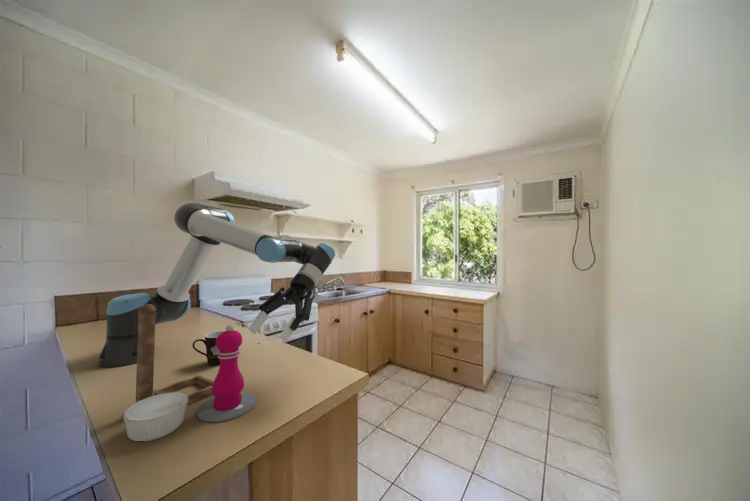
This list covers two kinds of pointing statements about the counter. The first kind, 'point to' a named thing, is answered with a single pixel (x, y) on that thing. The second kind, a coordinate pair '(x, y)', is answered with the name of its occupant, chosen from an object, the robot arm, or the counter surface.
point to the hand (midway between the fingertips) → (266, 335)
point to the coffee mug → (210, 348)
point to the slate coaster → (212, 415)
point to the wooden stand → (147, 363)
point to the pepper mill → (228, 371)
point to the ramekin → (155, 416)
